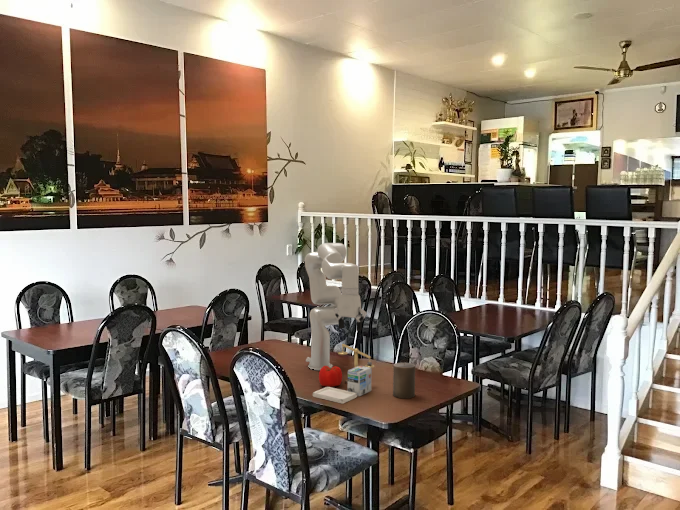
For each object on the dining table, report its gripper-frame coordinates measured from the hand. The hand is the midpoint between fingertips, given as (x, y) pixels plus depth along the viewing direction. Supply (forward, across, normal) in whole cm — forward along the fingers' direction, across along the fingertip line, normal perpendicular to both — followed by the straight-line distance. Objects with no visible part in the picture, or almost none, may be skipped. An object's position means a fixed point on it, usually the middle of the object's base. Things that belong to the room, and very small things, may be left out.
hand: (350, 329), depth 268 cm
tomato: (+28, -11, 0) cm, 30 cm away
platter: (+28, 0, -11) cm, 30 cm away
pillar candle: (+29, +23, +9) cm, 38 cm away
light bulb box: (+28, +5, +1) cm, 29 cm away
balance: (+28, -4, +11) cm, 30 cm away
